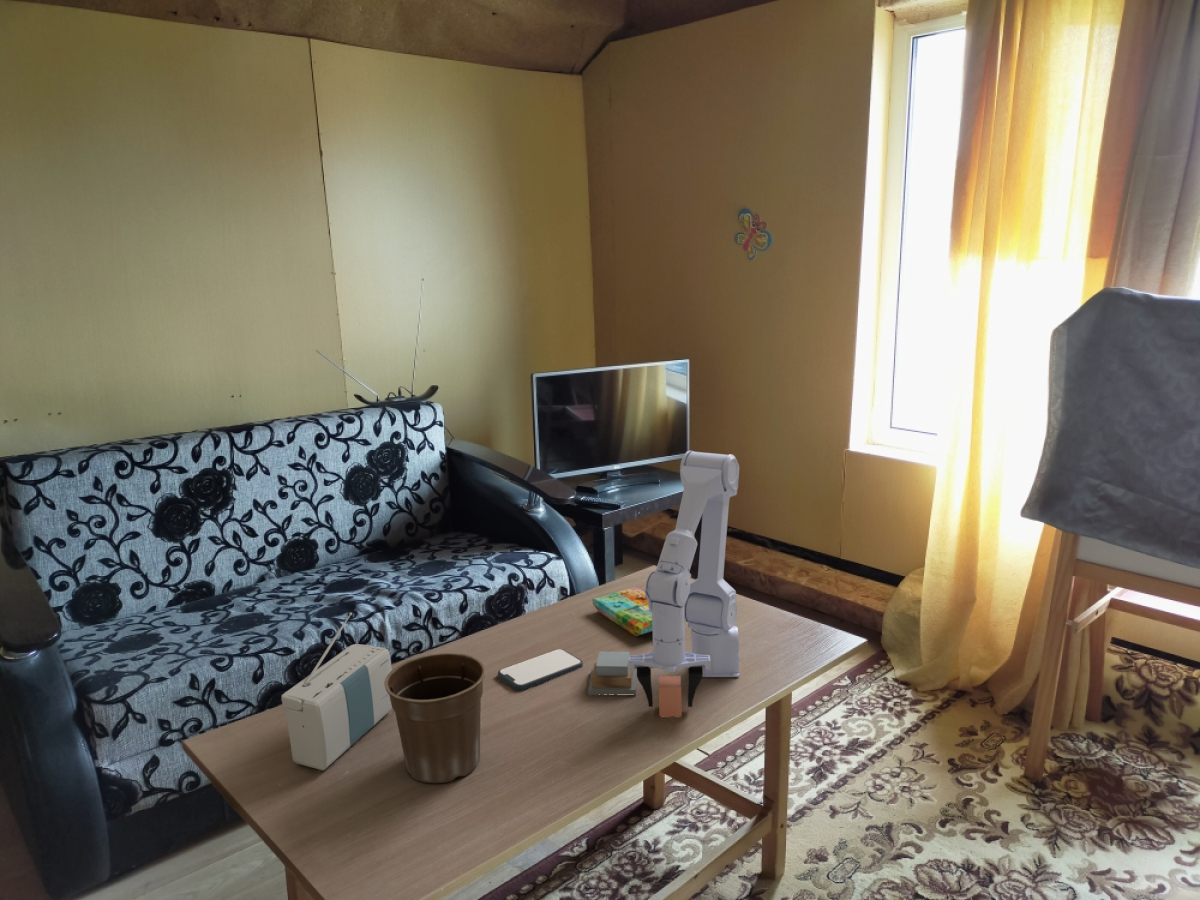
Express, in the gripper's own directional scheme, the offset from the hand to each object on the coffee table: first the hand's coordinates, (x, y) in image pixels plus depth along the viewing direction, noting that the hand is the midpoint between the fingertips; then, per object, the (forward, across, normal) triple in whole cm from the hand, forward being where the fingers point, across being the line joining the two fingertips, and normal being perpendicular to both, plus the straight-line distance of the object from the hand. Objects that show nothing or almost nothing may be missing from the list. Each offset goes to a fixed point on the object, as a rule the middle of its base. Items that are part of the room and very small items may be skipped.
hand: (670, 704), depth 153 cm
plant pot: (+2, -38, -16) cm, 41 cm away
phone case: (+2, -26, +15) cm, 30 cm away
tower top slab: (-2, -11, +10) cm, 15 cm away
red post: (+2, 0, 0) cm, 2 cm away
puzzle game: (+2, -7, +38) cm, 39 cm away
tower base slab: (+2, -11, +10) cm, 15 cm away
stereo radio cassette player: (+2, -58, -9) cm, 58 cm away
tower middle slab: (0, -11, +10) cm, 15 cm away
